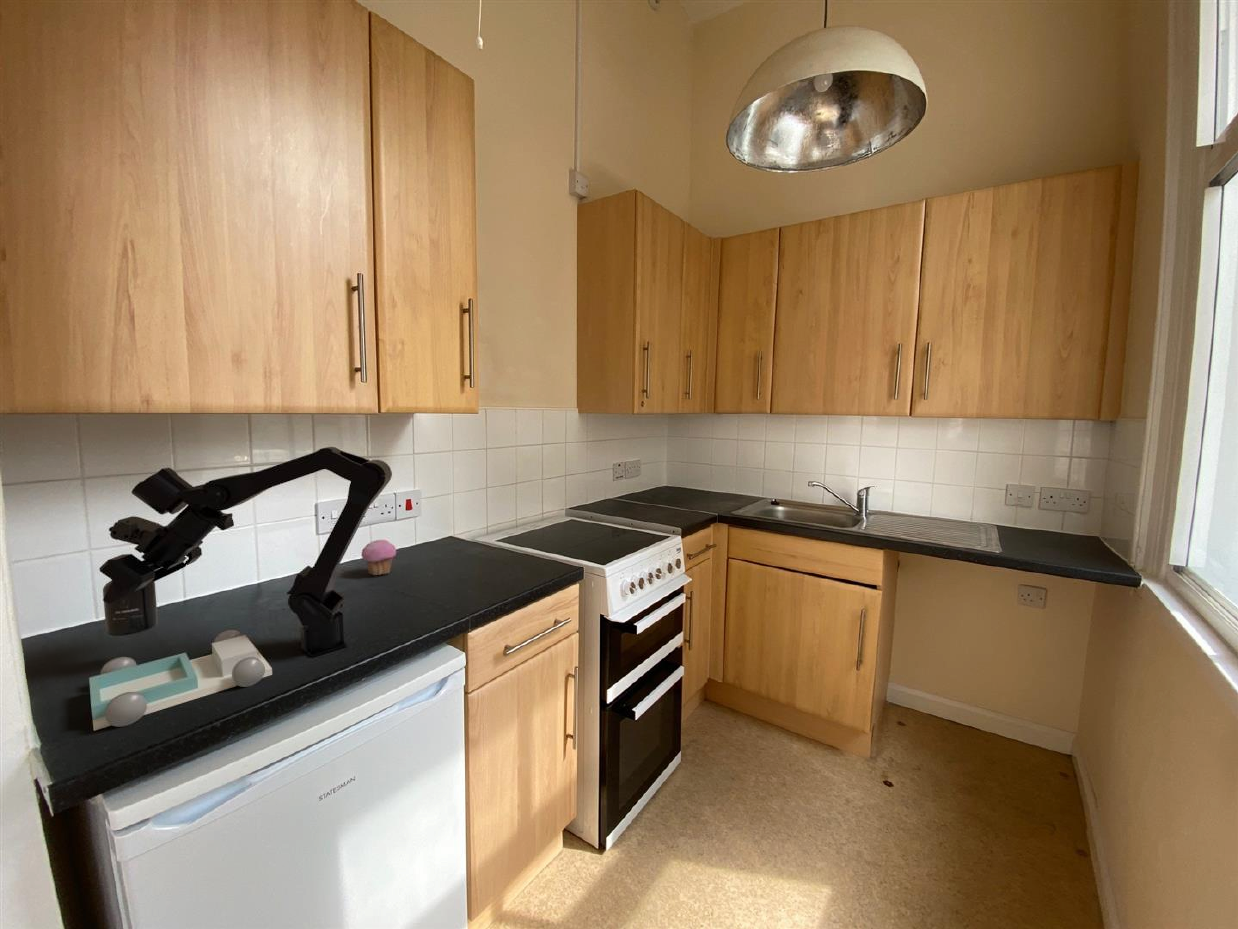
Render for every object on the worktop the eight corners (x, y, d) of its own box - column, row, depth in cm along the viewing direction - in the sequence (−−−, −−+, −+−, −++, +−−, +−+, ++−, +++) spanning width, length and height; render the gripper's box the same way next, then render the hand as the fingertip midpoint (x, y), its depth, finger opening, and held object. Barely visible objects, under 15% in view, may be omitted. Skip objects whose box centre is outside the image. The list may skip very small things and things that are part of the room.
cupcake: (389, 568, 151) (388, 535, 150) (401, 574, 145) (400, 540, 144) (357, 574, 145) (356, 540, 144) (369, 581, 139) (367, 546, 138)
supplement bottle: (120, 640, 88) (113, 572, 87) (98, 634, 90) (90, 568, 89) (167, 624, 94) (161, 561, 93) (145, 619, 97) (138, 558, 96)
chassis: (250, 646, 100) (249, 625, 100) (274, 678, 89) (273, 654, 88) (90, 690, 84) (88, 665, 84) (94, 736, 73) (91, 707, 72)
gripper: (178, 493, 100) (117, 552, 99) (107, 511, 82) (31, 583, 81) (227, 530, 103) (168, 587, 101) (169, 556, 84) (96, 626, 83)
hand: (120, 594), depth 91 cm, fingers closed on supplement bottle, 7 cm apart
